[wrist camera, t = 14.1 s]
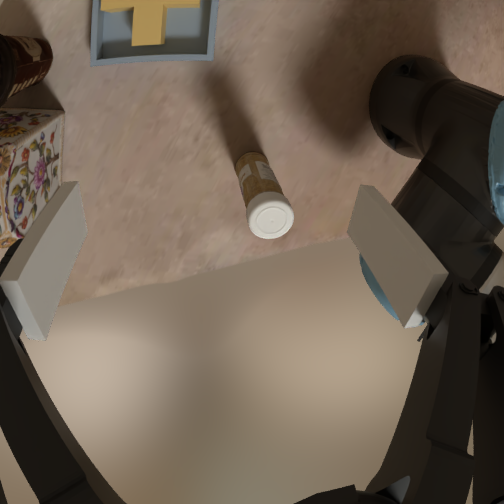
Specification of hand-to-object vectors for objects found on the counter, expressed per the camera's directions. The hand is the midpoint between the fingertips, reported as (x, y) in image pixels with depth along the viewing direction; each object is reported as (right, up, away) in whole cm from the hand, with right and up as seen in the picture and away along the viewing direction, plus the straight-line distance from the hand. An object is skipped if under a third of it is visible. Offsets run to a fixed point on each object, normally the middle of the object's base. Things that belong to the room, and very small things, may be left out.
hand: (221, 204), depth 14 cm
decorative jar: (-29, +12, +20) cm, 37 cm away
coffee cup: (-26, +22, +13) cm, 36 cm away
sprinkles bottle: (+1, +9, +28) cm, 29 cm away
